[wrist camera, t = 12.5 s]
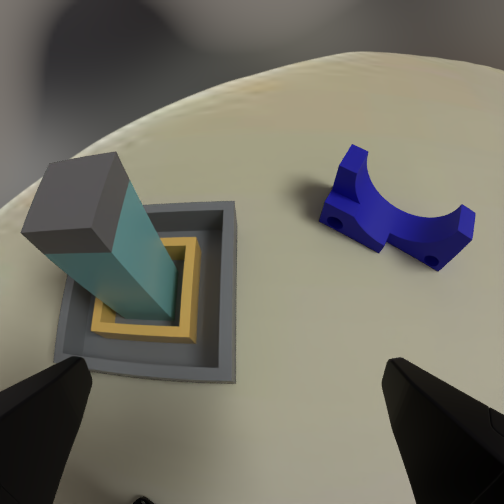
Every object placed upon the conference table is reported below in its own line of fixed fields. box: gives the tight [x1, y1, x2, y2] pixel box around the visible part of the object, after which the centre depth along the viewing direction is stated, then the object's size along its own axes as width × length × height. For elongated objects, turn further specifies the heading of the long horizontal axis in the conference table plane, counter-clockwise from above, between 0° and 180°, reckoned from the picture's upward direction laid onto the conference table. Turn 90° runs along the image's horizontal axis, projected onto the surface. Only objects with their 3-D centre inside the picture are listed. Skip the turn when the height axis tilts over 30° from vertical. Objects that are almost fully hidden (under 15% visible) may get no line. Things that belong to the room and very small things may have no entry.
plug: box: [21, 152, 178, 321], centre depth 17 cm, size 4×4×13 cm
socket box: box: [53, 201, 237, 384], centre depth 22 cm, size 13×13×4 cm
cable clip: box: [319, 144, 475, 271], centre depth 23 cm, size 12×4×6 cm, turn 58°
